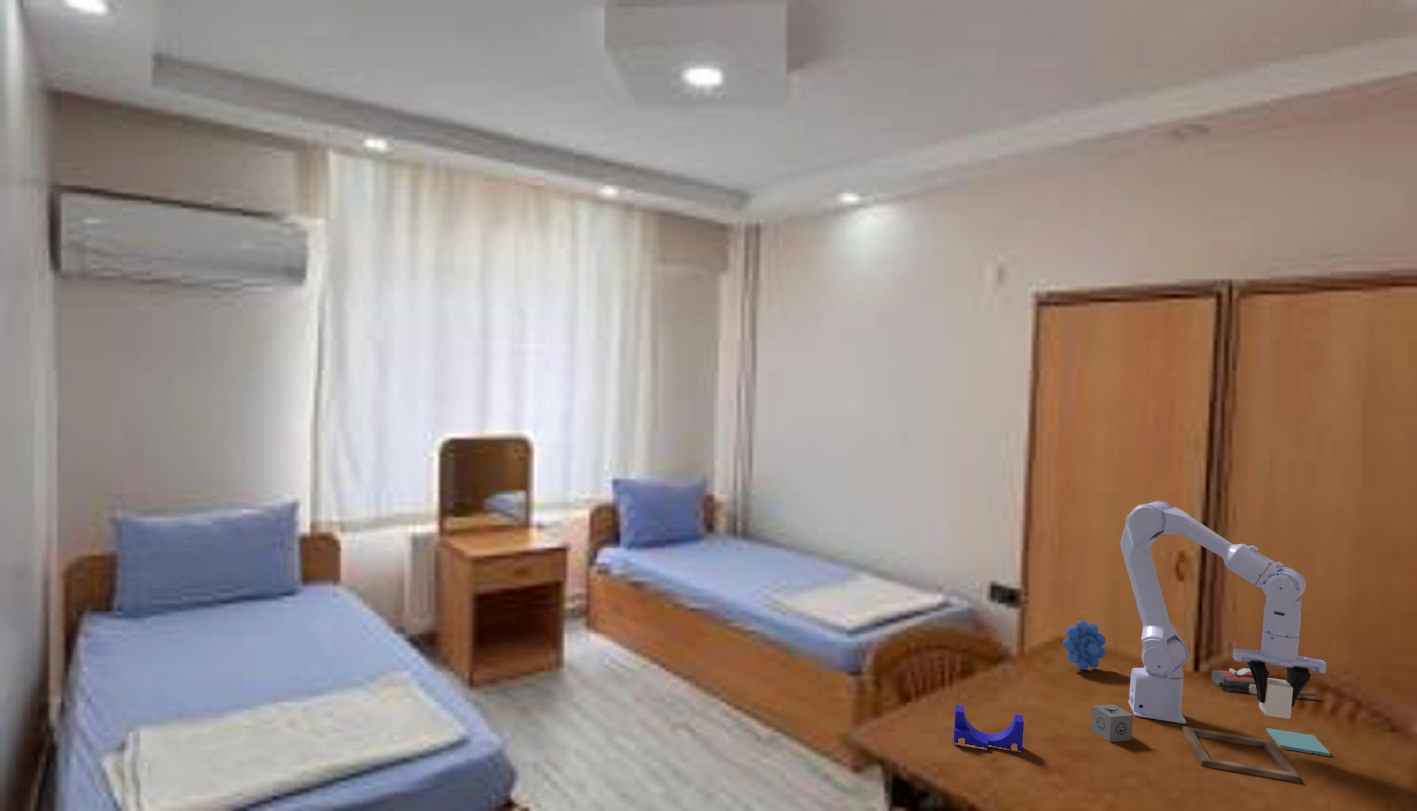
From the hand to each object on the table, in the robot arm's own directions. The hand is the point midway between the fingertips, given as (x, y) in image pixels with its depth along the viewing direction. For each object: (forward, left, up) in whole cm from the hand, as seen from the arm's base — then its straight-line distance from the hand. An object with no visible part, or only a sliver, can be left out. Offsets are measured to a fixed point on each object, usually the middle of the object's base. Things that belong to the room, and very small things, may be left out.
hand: (1275, 702), depth 154 cm
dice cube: (-29, -7, -9) cm, 31 cm away
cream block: (0, 0, -2) cm, 2 cm away
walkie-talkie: (+8, +34, -10) cm, 37 cm away
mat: (+6, +5, -9) cm, 12 cm away
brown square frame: (-7, -6, -9) cm, 13 cm away
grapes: (-29, +29, -9) cm, 42 cm away
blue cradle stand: (-52, -21, -9) cm, 57 cm away
